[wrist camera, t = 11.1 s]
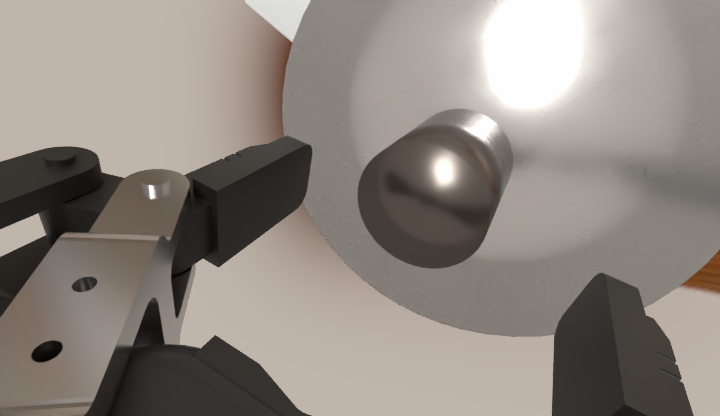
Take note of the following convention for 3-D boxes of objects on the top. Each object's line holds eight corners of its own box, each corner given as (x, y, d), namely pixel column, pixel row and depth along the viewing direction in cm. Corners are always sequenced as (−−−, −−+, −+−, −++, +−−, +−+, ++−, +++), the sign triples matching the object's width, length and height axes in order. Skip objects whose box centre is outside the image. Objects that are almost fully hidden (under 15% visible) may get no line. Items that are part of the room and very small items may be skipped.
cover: (724, -11, 22) (1524, -141, 3) (572, 215, 31) (564, 504, 13) (457, -68, 27) (190, -245, 8) (396, 142, 36) (209, 275, 18)
